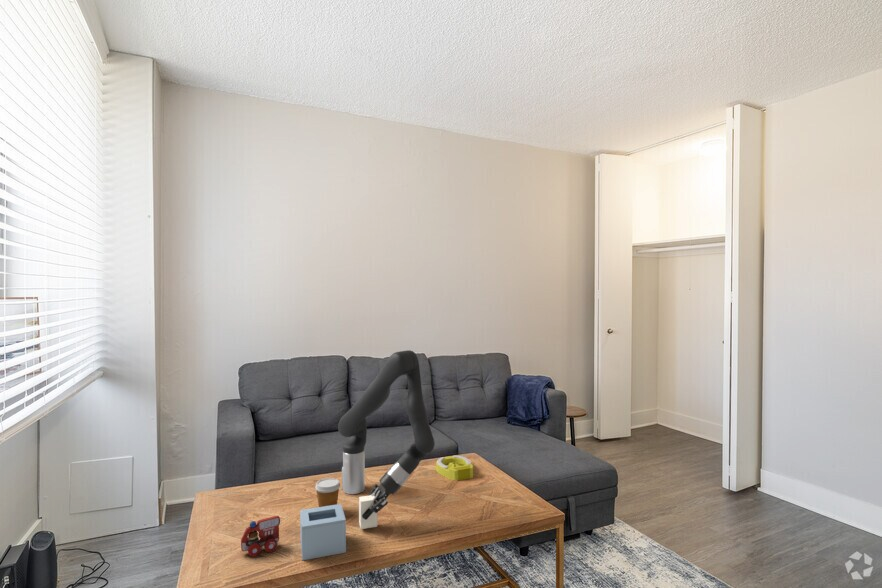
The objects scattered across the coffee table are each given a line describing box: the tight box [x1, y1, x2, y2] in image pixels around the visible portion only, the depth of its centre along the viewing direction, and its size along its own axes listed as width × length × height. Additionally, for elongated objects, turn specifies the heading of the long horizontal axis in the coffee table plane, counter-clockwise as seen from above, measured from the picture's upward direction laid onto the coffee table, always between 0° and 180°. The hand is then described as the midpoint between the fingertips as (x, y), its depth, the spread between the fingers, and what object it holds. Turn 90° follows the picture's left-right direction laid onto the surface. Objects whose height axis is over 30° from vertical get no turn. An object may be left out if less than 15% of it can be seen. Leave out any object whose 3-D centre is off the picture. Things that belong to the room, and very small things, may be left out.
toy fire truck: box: [240, 515, 281, 557], centre depth 159 cm, size 7×12×10 cm, turn 118°
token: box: [358, 494, 378, 530], centre depth 173 cm, size 6×4×10 cm, turn 109°
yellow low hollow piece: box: [435, 455, 474, 482], centre depth 225 cm, size 16×21×5 cm
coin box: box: [299, 503, 347, 561], centre depth 161 cm, size 14×12×11 cm
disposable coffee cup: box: [314, 477, 341, 507], centre depth 185 cm, size 10×10×12 cm
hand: (362, 514), depth 172 cm, fingers closed on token, 4 cm apart
